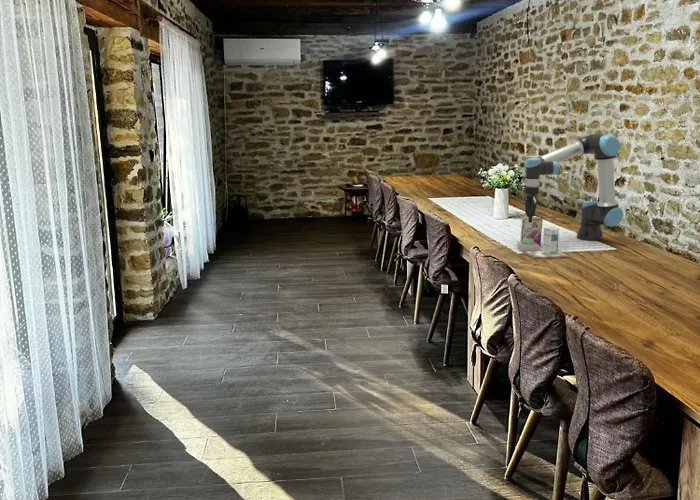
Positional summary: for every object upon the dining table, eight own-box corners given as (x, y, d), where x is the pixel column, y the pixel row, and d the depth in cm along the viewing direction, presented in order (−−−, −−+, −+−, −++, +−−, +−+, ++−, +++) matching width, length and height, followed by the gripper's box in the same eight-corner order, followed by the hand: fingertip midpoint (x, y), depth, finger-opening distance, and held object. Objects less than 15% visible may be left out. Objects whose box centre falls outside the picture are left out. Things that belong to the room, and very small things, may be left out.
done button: (530, 244, 350) (531, 237, 349) (535, 246, 344) (535, 239, 343) (520, 244, 349) (521, 237, 348) (524, 247, 343) (525, 240, 342)
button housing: (532, 248, 352) (532, 241, 351) (538, 251, 343) (538, 244, 342) (517, 248, 351) (517, 241, 350) (522, 252, 342) (523, 245, 341)
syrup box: (549, 255, 331) (551, 229, 327) (541, 253, 336) (543, 227, 332) (557, 254, 333) (559, 228, 330) (549, 252, 338) (551, 226, 335)
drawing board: (558, 251, 343) (558, 249, 343) (570, 258, 329) (570, 256, 328) (522, 252, 341) (522, 250, 341) (533, 259, 327) (533, 257, 327)
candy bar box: (521, 245, 359) (523, 218, 355) (520, 243, 364) (521, 216, 360) (540, 245, 358) (542, 218, 354) (539, 243, 363) (541, 216, 359)
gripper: (521, 184, 345) (518, 225, 350) (529, 187, 332) (526, 230, 337) (533, 184, 345) (530, 225, 351) (543, 187, 333) (539, 229, 338)
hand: (528, 227), depth 344 cm, fingers closed
